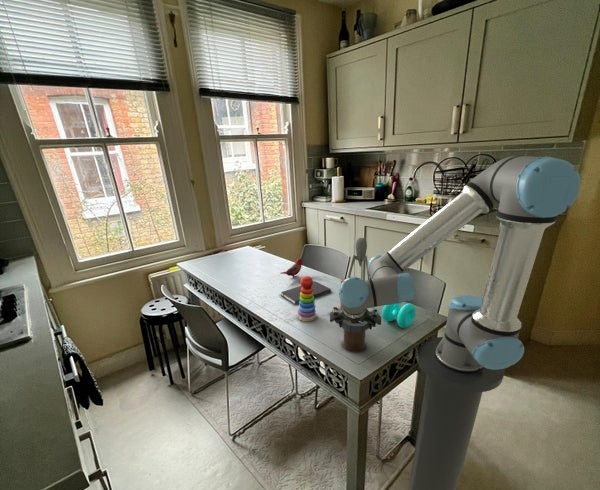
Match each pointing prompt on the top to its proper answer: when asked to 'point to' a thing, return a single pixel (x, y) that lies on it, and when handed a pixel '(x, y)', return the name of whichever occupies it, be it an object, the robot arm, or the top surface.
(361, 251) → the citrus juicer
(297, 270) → the decorative bird figurine
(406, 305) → the teal toy dumbbell
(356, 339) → the stand
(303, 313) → the stacking toy
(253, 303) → the top surface
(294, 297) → the notebook
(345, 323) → the gray octagonal ring
